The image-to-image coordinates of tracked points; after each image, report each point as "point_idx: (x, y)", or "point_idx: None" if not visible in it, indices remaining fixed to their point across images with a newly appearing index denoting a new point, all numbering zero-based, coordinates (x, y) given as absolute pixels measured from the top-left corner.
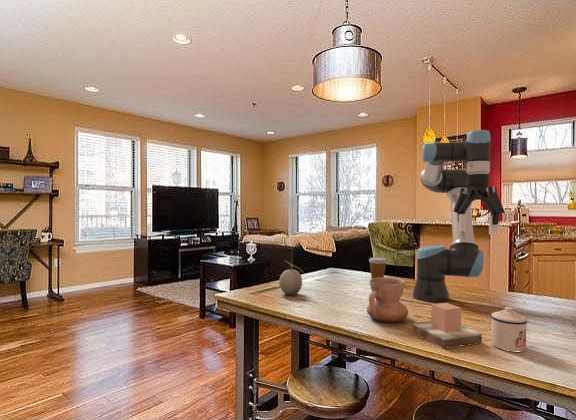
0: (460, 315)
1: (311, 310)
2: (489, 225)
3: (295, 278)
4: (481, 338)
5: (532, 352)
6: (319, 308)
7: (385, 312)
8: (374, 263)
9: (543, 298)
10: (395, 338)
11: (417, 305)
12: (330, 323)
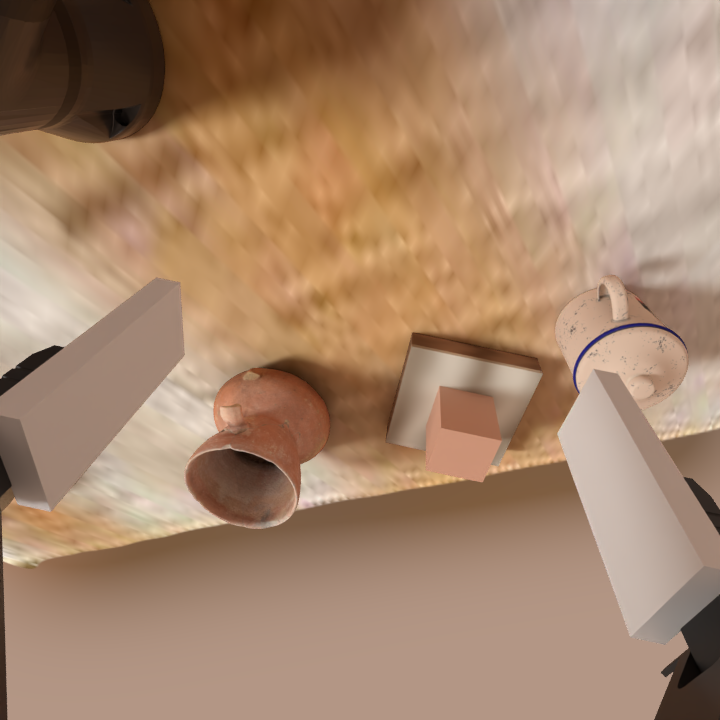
0: (498, 426)
1: (161, 493)
2: (589, 507)
3: None
4: (539, 367)
5: (662, 305)
6: (148, 473)
7: (308, 460)
8: None
9: None
10: (396, 476)
11: (183, 217)
12: None
